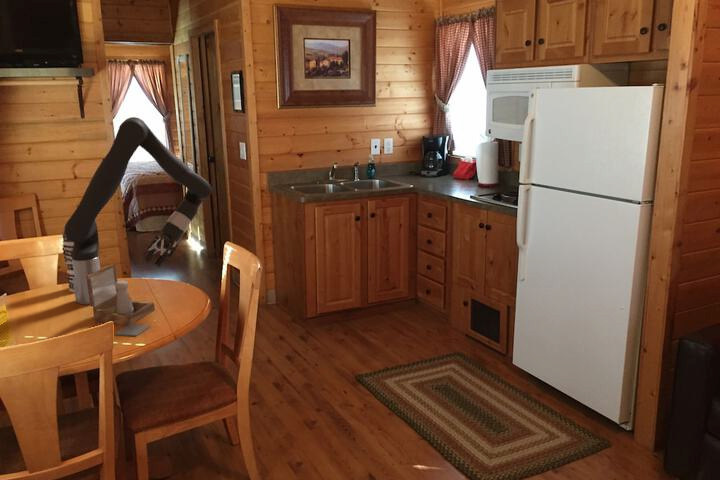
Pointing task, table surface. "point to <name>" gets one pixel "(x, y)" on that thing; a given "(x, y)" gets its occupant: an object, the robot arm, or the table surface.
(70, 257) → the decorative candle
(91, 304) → the frame
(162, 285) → the table surface
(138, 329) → the plate
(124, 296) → the salt shaker
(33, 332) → the table surface
